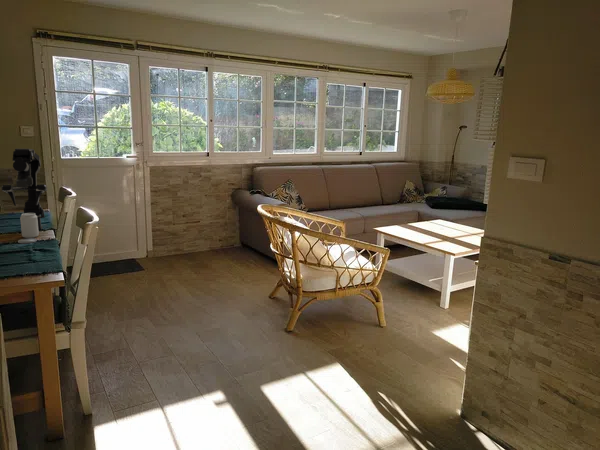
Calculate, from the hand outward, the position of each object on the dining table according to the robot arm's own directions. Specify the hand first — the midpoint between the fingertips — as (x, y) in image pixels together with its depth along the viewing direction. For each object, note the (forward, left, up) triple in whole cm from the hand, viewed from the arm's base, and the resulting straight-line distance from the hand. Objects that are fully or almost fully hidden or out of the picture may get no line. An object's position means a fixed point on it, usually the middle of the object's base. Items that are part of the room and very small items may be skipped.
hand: (26, 205), depth 225 cm
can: (-4, 0, -17) cm, 18 cm away
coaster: (+6, 0, -17) cm, 18 cm away
